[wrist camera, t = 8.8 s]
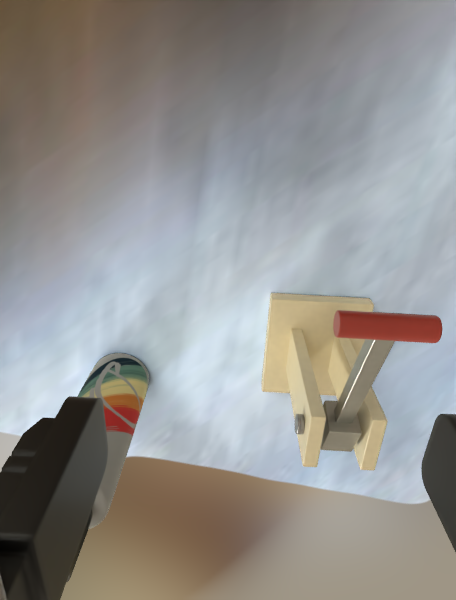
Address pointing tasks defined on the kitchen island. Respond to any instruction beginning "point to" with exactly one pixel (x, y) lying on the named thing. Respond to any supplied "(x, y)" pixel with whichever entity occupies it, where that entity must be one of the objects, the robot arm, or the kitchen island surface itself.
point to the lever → (369, 365)
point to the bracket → (317, 369)
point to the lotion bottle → (114, 421)
